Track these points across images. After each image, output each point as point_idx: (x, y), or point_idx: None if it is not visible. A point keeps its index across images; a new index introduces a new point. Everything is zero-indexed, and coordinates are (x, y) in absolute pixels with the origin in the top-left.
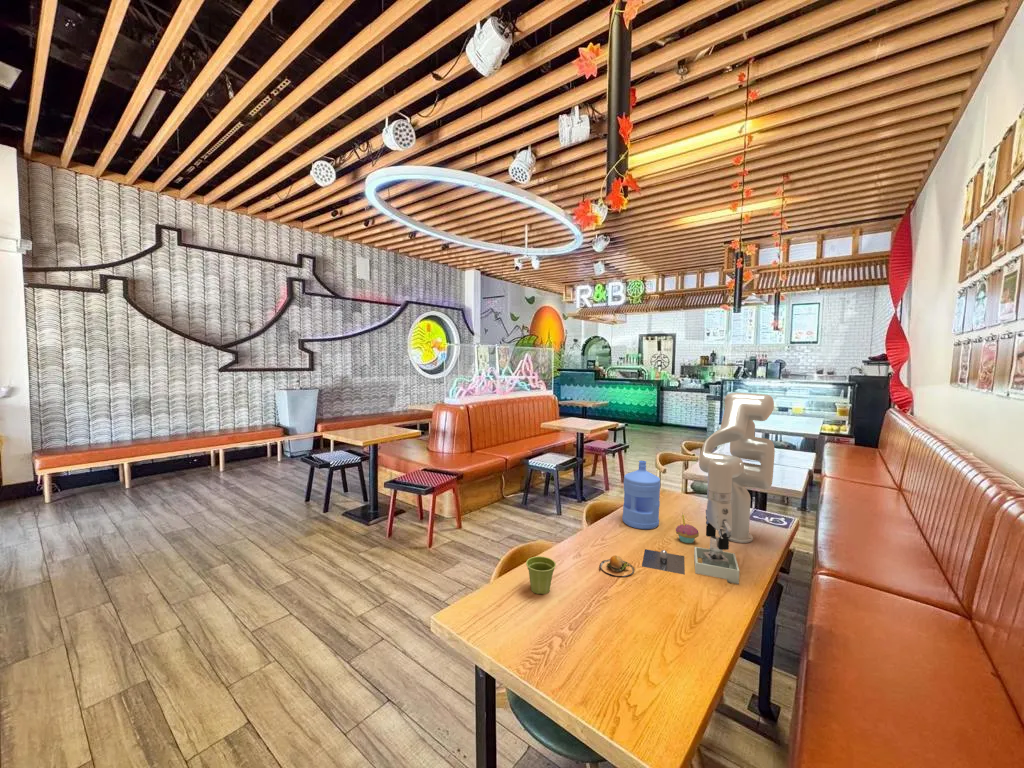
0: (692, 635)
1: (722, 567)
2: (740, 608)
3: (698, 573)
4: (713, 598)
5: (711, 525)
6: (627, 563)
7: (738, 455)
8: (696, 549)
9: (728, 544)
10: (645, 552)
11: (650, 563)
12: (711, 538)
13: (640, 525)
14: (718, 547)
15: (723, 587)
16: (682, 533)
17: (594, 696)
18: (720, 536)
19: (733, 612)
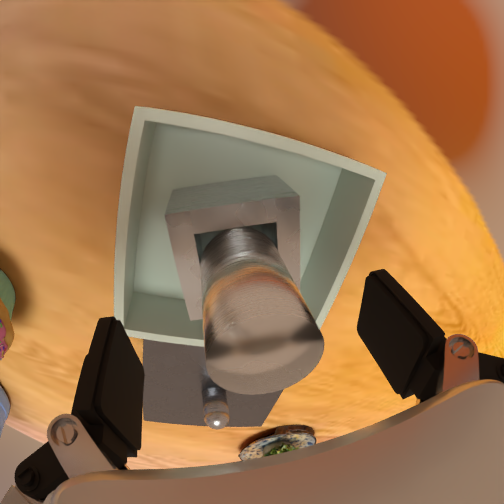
0: (474, 328)
1: (352, 252)
2: (458, 220)
3: None
4: (415, 280)
5: (114, 440)
6: (253, 443)
7: None
8: (149, 333)
9: (406, 295)
10: (167, 421)
11: (240, 416)
12: (268, 390)
13: (2, 400)
14: (365, 337)
15: (368, 231)
16: (7, 347)
17: None
18: (422, 401)
19: (464, 245)
